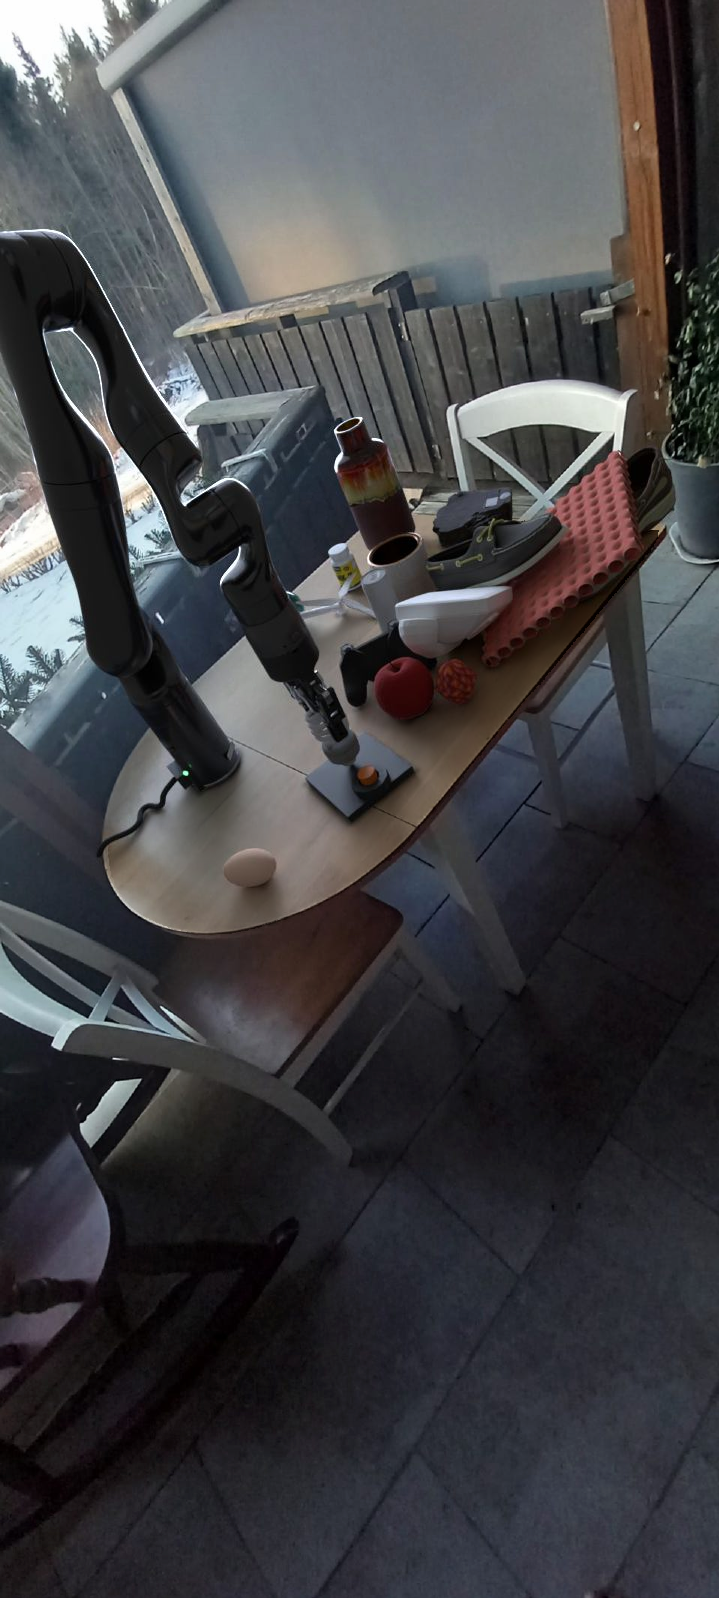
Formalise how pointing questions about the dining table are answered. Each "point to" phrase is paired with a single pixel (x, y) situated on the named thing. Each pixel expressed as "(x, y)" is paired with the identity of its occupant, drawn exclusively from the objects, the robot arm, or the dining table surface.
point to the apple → (404, 688)
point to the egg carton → (571, 557)
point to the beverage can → (380, 596)
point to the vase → (371, 484)
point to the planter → (403, 564)
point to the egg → (250, 867)
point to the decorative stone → (455, 681)
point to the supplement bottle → (345, 565)
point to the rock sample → (471, 514)
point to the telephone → (449, 617)
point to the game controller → (373, 661)
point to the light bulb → (334, 751)
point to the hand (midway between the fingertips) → (330, 729)
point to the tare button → (367, 775)
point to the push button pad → (345, 785)
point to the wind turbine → (331, 605)
